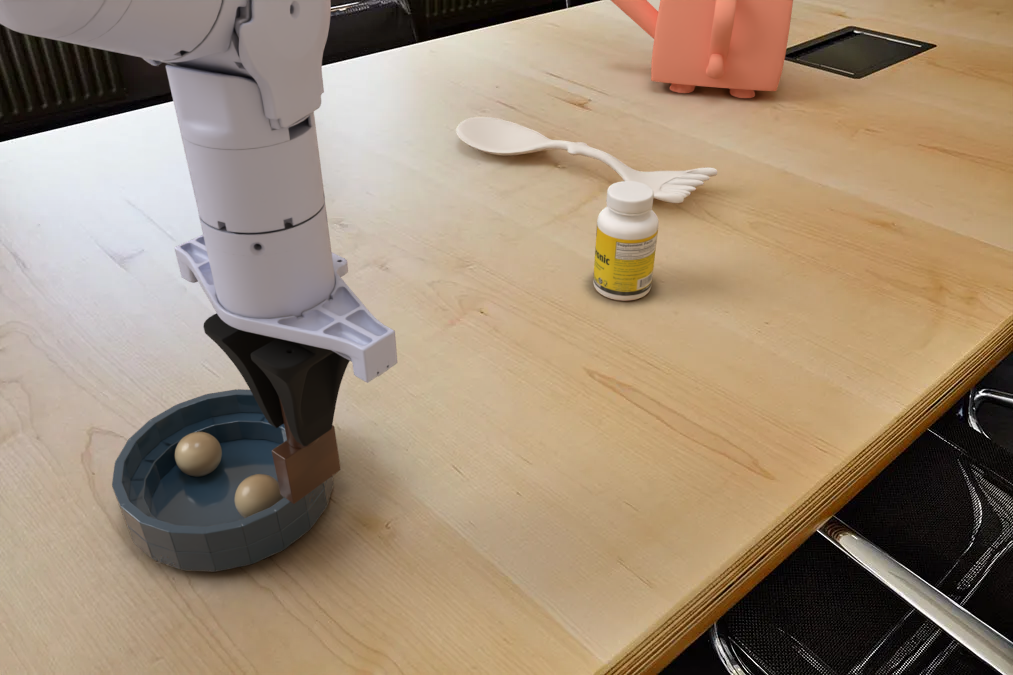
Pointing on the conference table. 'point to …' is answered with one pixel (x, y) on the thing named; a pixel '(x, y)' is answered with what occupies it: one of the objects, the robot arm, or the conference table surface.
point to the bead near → (256, 494)
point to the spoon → (522, 140)
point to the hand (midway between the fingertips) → (301, 425)
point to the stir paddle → (304, 463)
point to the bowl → (208, 488)
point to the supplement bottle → (626, 242)
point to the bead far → (198, 454)
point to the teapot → (715, 42)
